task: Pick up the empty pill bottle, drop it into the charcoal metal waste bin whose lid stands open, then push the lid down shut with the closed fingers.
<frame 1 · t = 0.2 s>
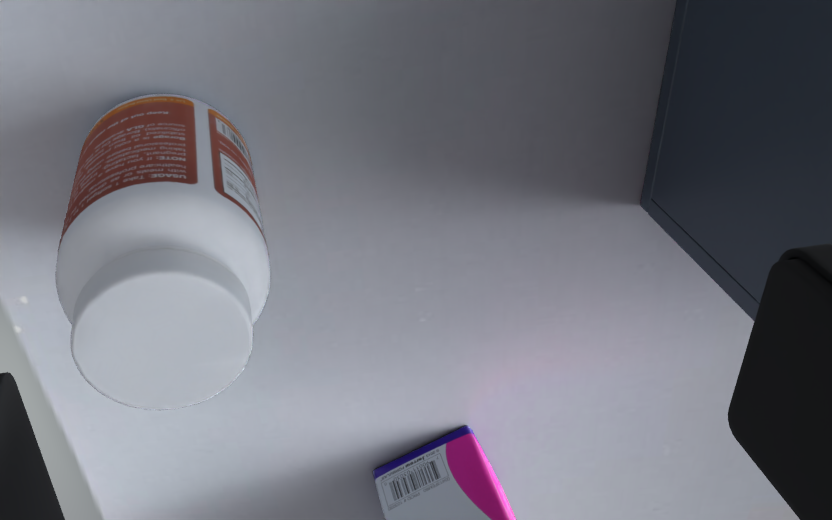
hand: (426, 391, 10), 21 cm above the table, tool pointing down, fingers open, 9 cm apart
supplement box: (438, 474, 43), on the table
pill bottle: (170, 163, 30), on the table
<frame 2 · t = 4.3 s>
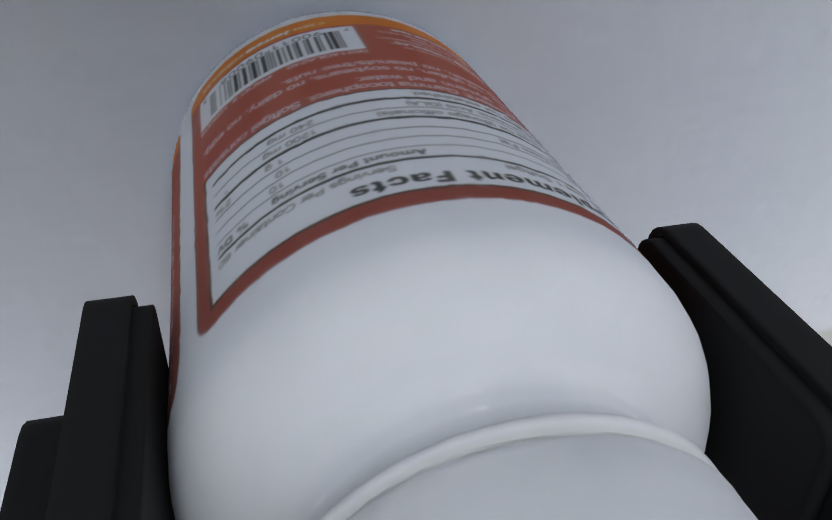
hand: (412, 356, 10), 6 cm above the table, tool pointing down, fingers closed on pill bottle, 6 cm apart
pill bottle: (337, 157, 16), on the table, touching gripper
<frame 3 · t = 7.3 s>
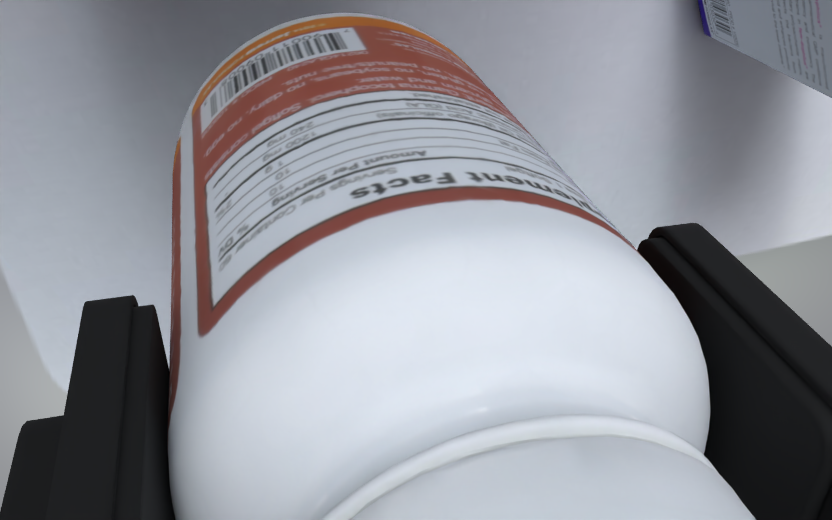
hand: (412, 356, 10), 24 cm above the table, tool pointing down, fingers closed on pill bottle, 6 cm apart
pill bottle: (337, 158, 16), point 18 cm above the table, touching gripper
when the fingers open (17 cm above the table, at t = 10.8 s): pill bottle drops 10 cm, resting on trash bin.
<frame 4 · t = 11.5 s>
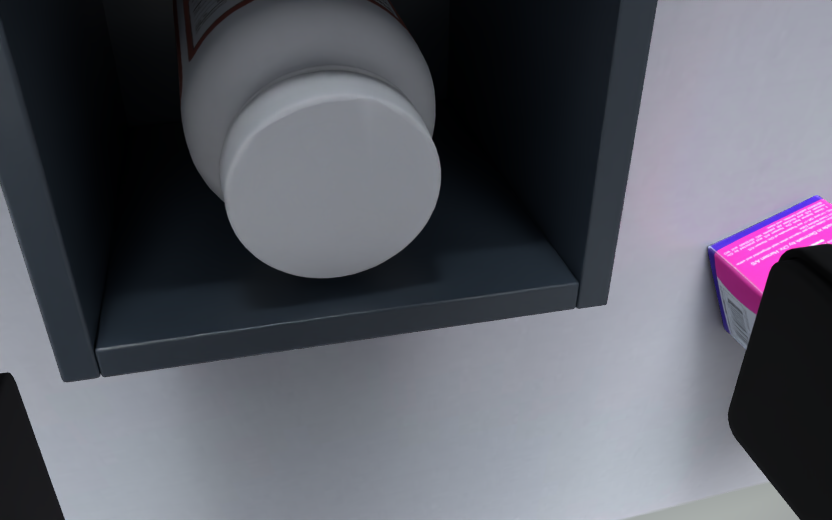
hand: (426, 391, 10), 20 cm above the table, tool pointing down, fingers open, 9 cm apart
supplement box: (766, 259, 38), on the table
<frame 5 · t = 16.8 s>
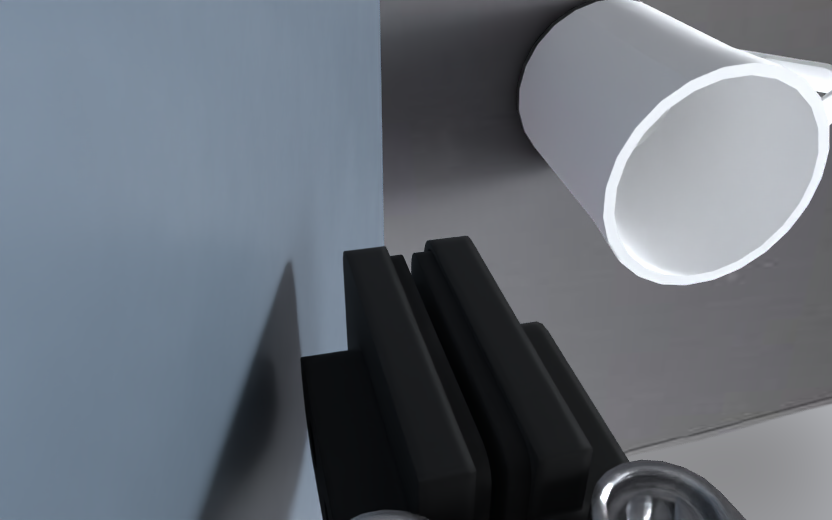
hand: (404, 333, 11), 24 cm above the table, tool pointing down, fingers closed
bin lid: (297, 261, 12), point 22 cm above the table, hinge at 72.7°, touching gripper
mug: (613, 71, 37), on the table
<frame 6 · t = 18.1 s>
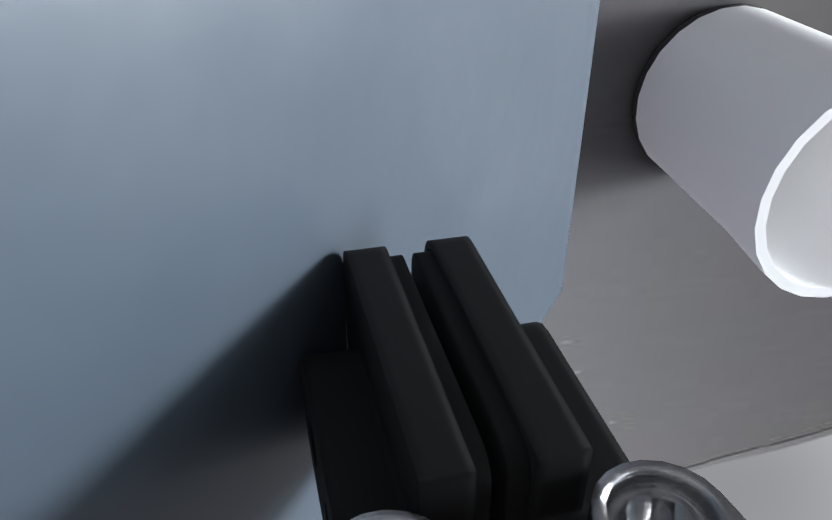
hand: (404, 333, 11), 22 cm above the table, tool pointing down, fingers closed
bin lid: (398, 252, 13), point 20 cm above the table, hinge at 49.2°, touching gripper
mug: (728, 78, 37), on the table
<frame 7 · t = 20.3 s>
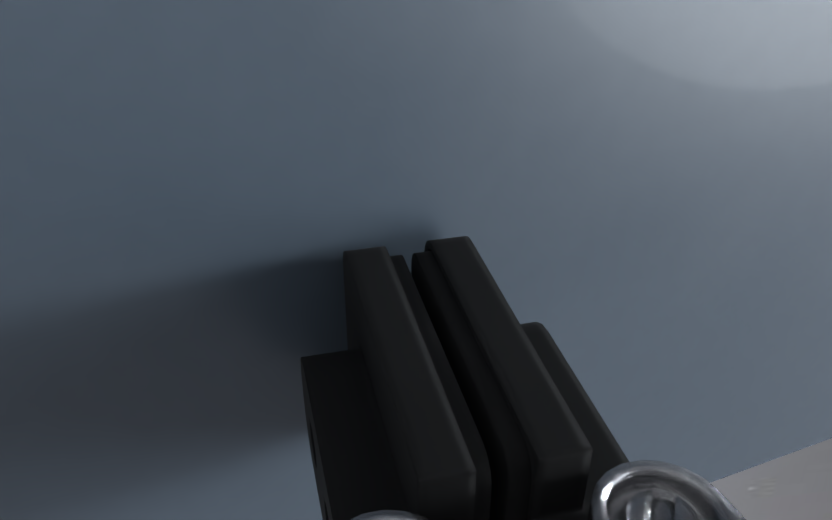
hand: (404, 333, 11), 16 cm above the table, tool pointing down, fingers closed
bin lid: (536, 269, 12), point 15 cm above the table, hinge at 8.5°, touching gripper
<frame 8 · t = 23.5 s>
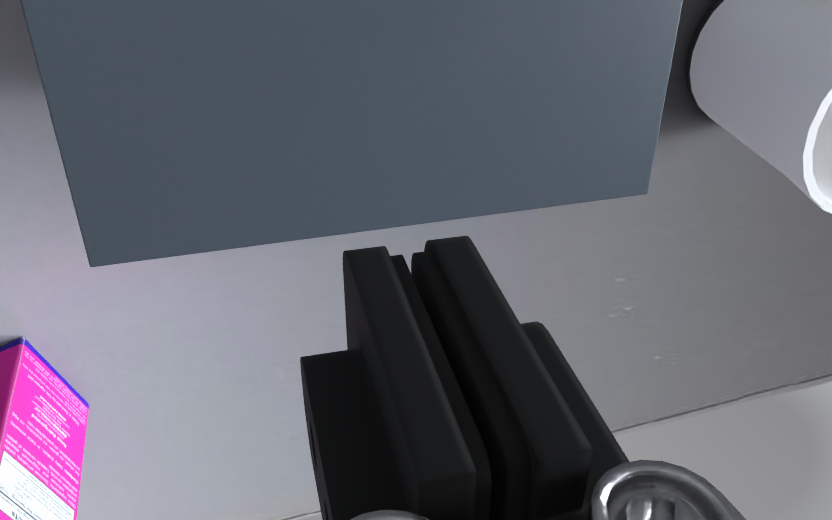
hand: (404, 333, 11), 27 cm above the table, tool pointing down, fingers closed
bin lid: (384, 30, 23), point 13 cm above the table, hinge at 1.2°
mug: (770, 38, 42), on the table
supplement box: (13, 391, 42), on the table
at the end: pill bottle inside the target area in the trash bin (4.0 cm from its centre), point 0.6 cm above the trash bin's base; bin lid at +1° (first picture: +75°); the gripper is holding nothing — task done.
